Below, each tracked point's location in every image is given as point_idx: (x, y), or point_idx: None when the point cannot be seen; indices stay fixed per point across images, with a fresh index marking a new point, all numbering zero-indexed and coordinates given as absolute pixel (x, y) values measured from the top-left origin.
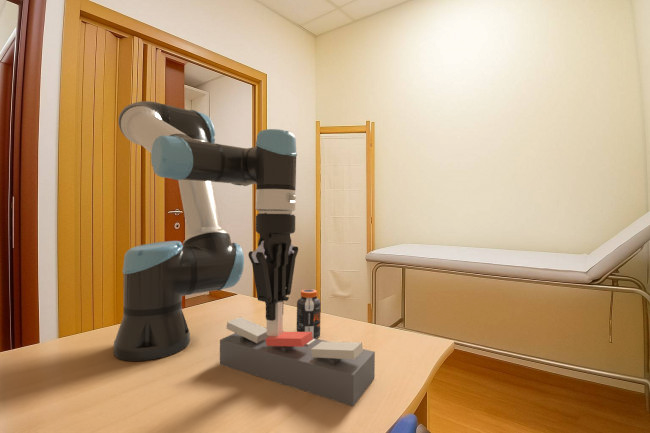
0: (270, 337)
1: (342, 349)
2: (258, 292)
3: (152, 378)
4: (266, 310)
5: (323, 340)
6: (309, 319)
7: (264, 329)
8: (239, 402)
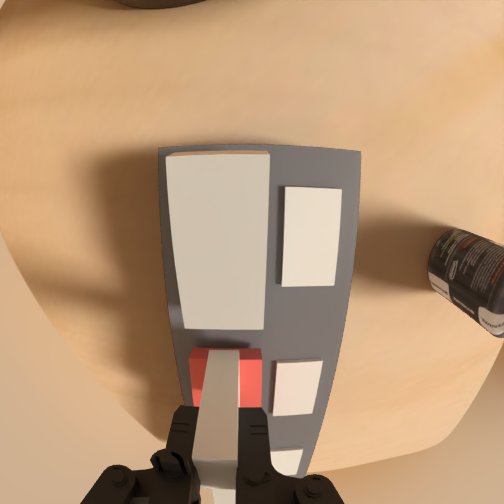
0: (197, 372)
1: (216, 495)
2: (91, 501)
3: (65, 87)
4: (170, 438)
5: (322, 418)
6: (462, 304)
7: (249, 314)
8: (100, 318)
